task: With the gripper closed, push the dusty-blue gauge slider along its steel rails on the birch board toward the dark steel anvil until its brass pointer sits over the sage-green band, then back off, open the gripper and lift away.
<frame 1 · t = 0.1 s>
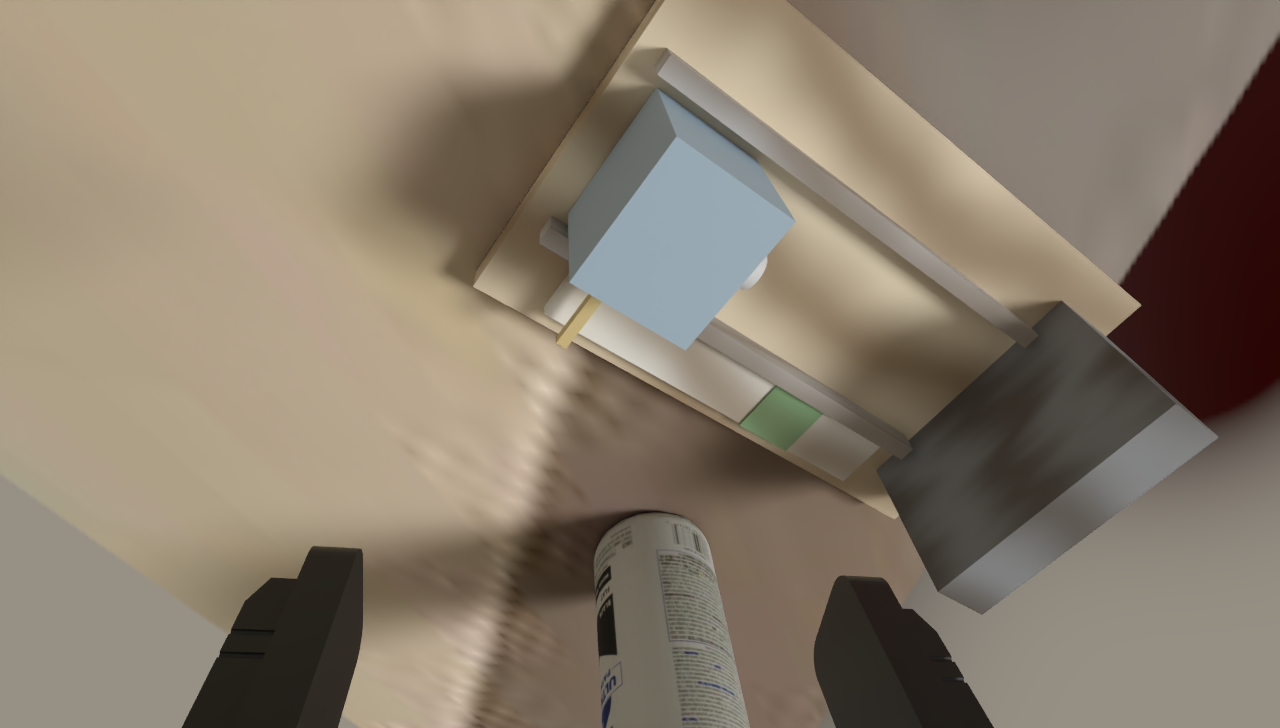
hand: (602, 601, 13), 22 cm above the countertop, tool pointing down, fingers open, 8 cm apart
gauge slider: (651, 272, 30), point 5 cm above the countertop, slide at 0.0 cm
spray can: (652, 547, 45), on the countertop
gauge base: (814, 280, 36), on the countertop
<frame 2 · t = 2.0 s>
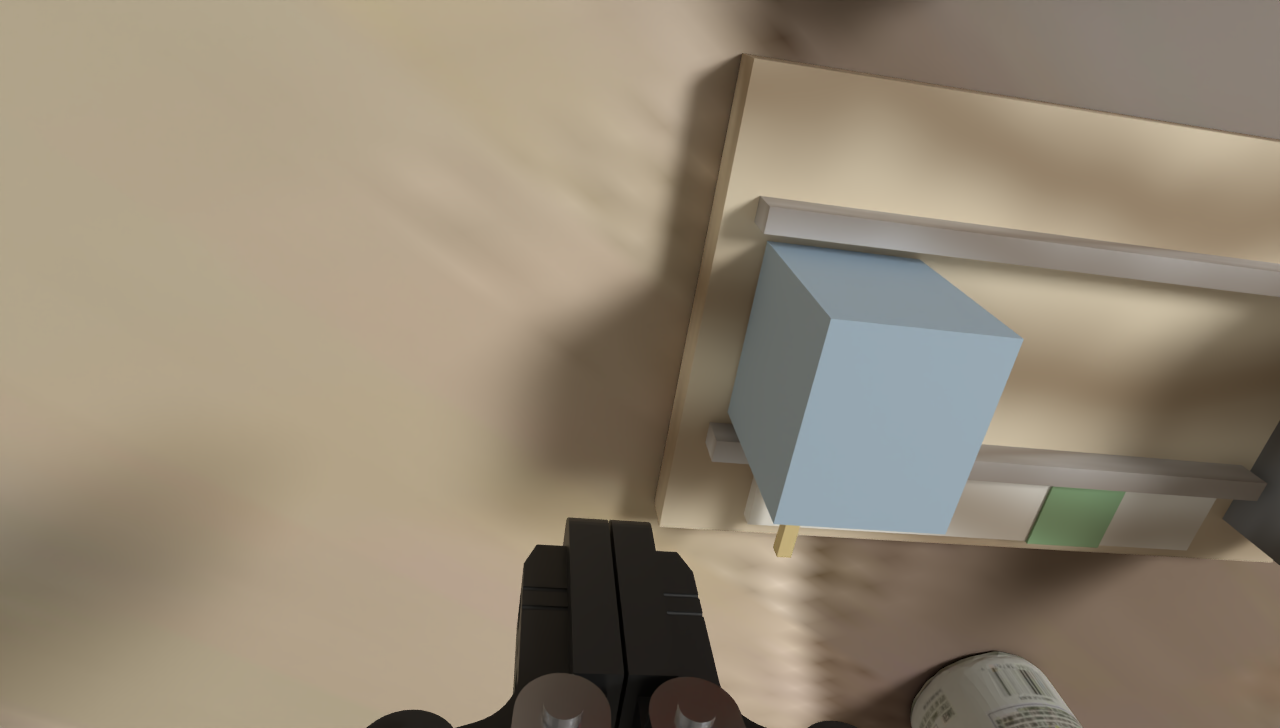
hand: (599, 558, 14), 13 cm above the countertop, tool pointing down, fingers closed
gauge slider: (856, 447, 24), point 5 cm above the countertop, slide at 0.0 cm
spray can: (973, 694, 37), on the countertop
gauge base: (1041, 343, 28), on the countertop
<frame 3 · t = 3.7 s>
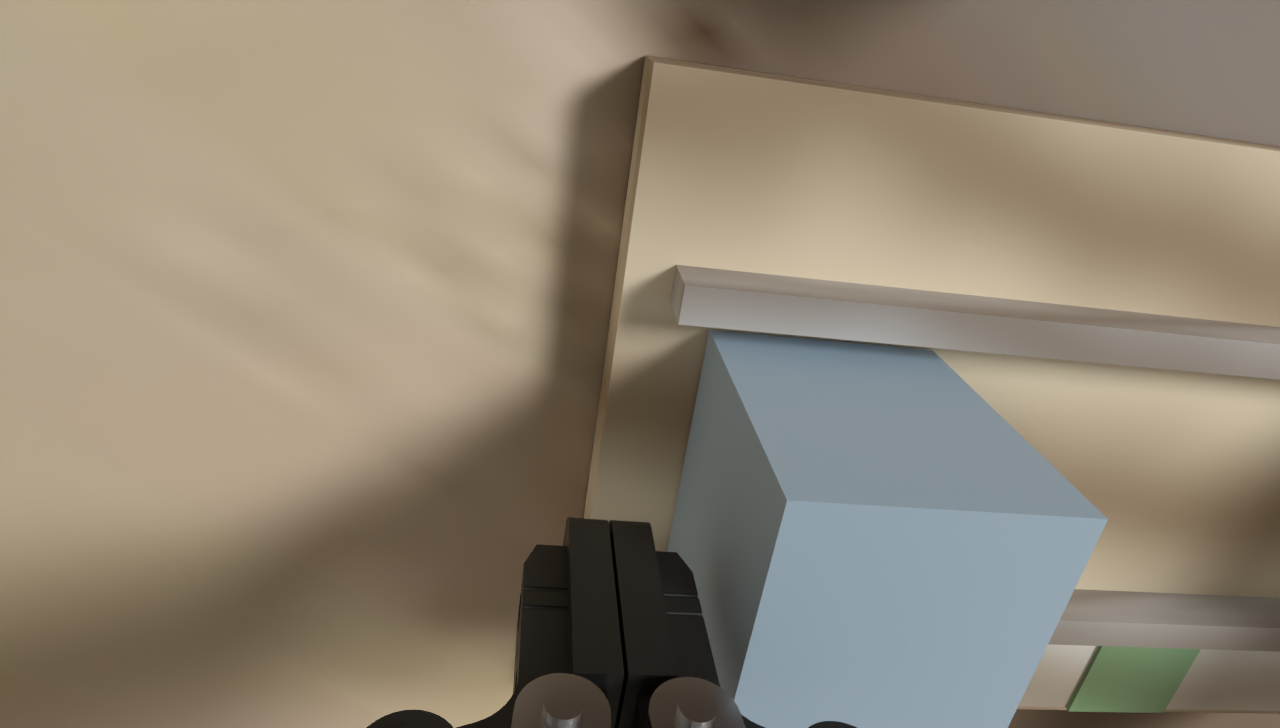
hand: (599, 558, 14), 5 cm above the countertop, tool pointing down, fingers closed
gauge slider: (843, 629, 16), point 5 cm above the countertop, slide at 0.4 cm, touching gripper
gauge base: (1086, 446, 21), on the countertop
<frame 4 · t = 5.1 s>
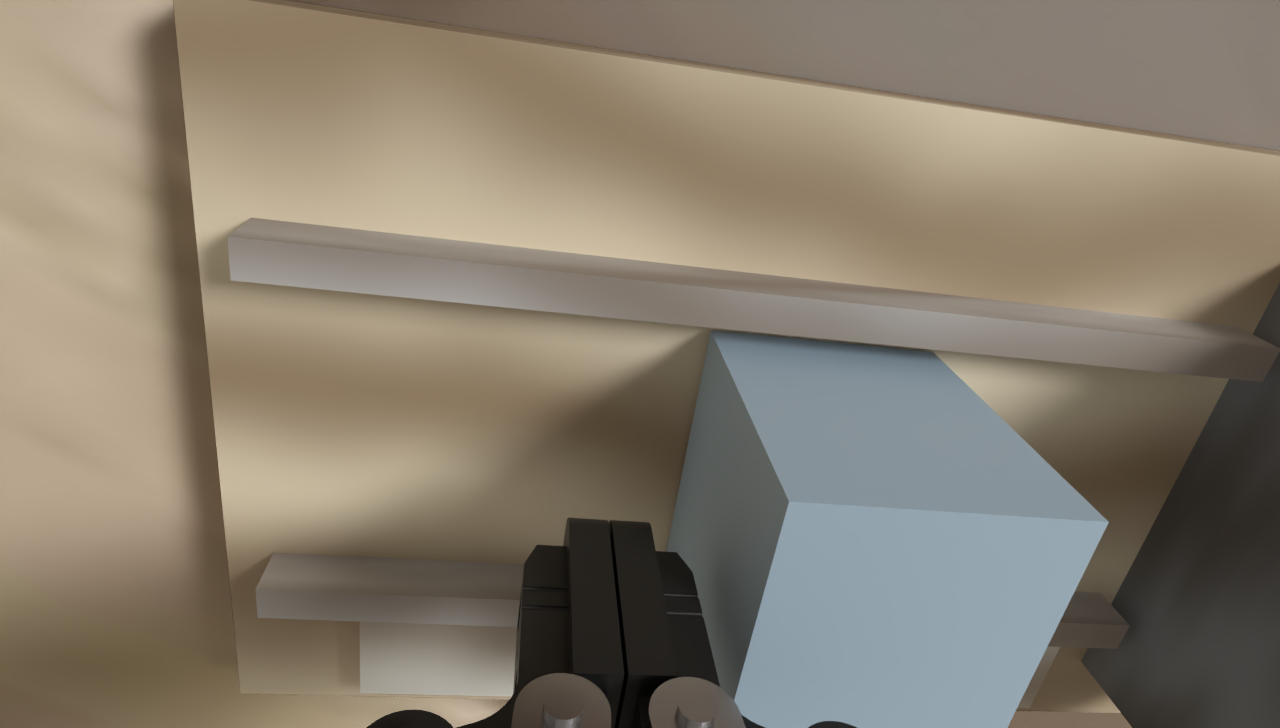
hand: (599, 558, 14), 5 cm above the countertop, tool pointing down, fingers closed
gauge slider: (842, 630, 16), point 5 cm above the countertop, slide at 8.5 cm, touching gripper
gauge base: (794, 426, 19), on the countertop
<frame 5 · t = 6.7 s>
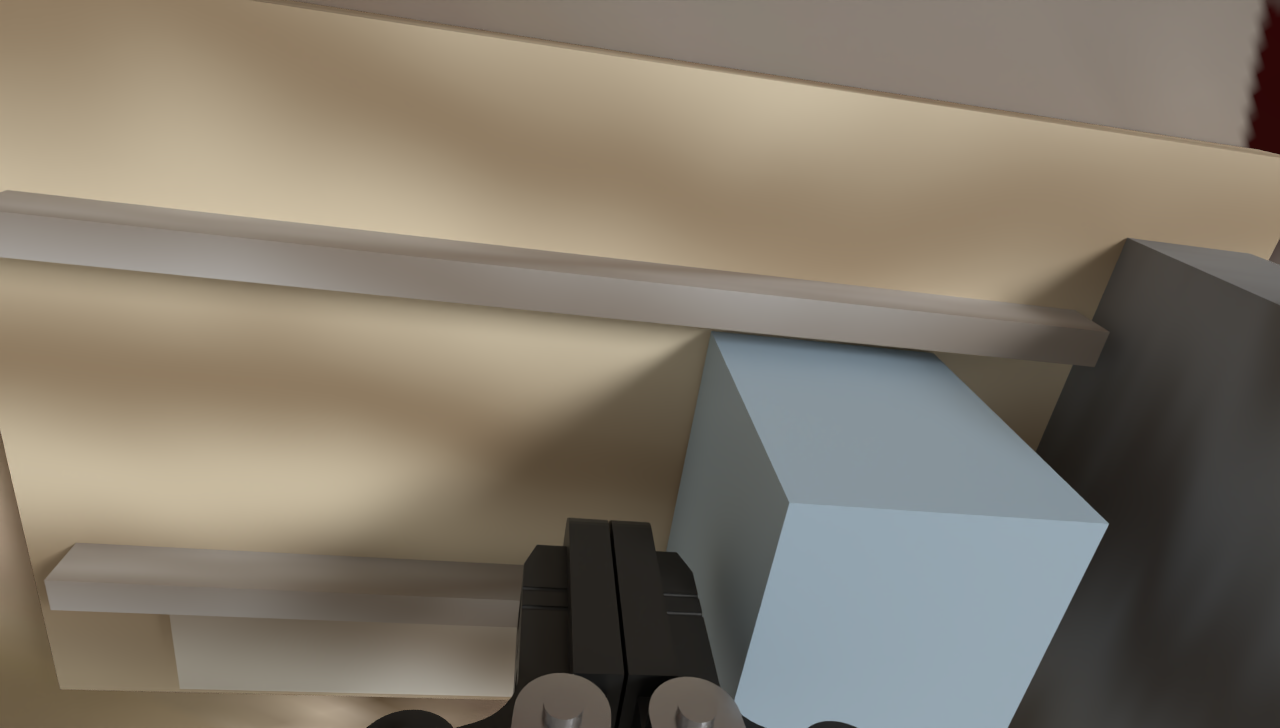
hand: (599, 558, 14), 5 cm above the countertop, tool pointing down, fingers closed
gauge slider: (842, 631, 16), point 5 cm above the countertop, slide at 12.6 cm, touching gripper
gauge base: (633, 413, 19), on the countertop
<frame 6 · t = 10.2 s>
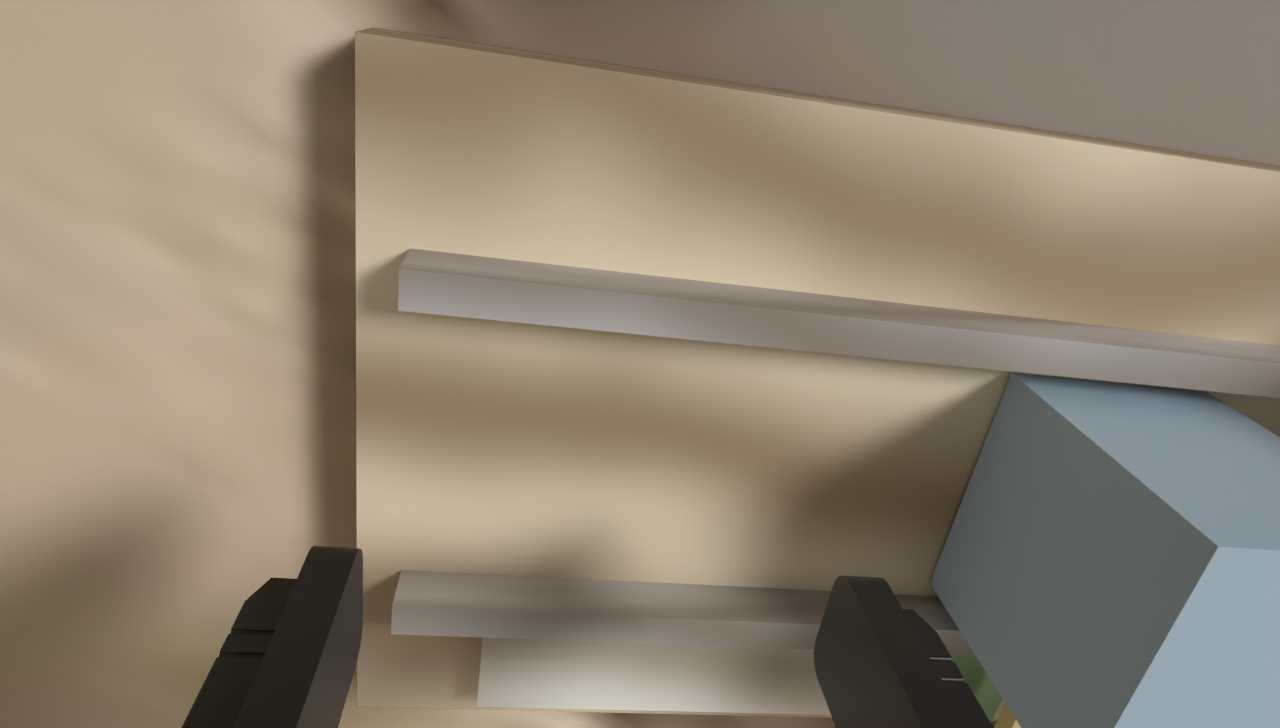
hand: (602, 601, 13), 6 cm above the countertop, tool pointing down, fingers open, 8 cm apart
gauge slider: (1134, 654, 17), point 5 cm above the countertop, slide at 12.6 cm
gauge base: (899, 446, 20), on the countertop
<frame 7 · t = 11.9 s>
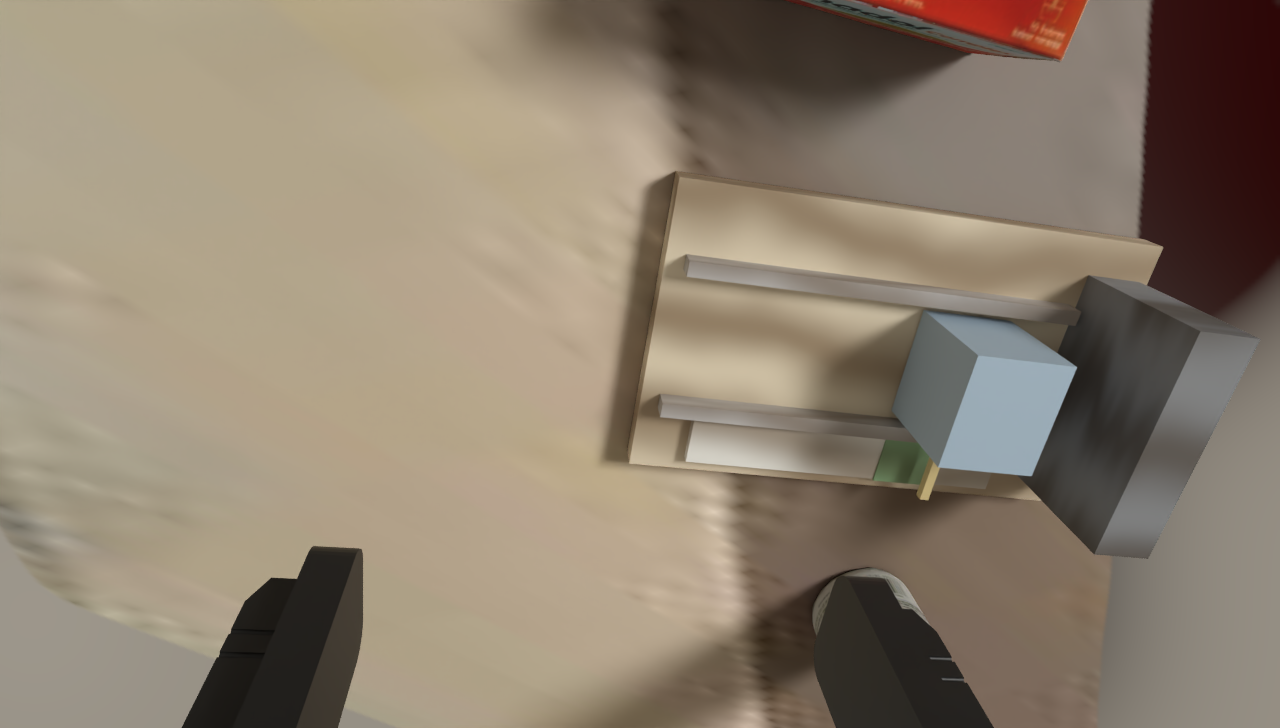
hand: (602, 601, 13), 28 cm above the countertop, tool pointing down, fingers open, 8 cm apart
gauge slider: (975, 429, 41), point 5 cm above the countertop, slide at 12.6 cm
spray can: (858, 602, 51), on the countertop
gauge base: (877, 347, 44), on the countertop
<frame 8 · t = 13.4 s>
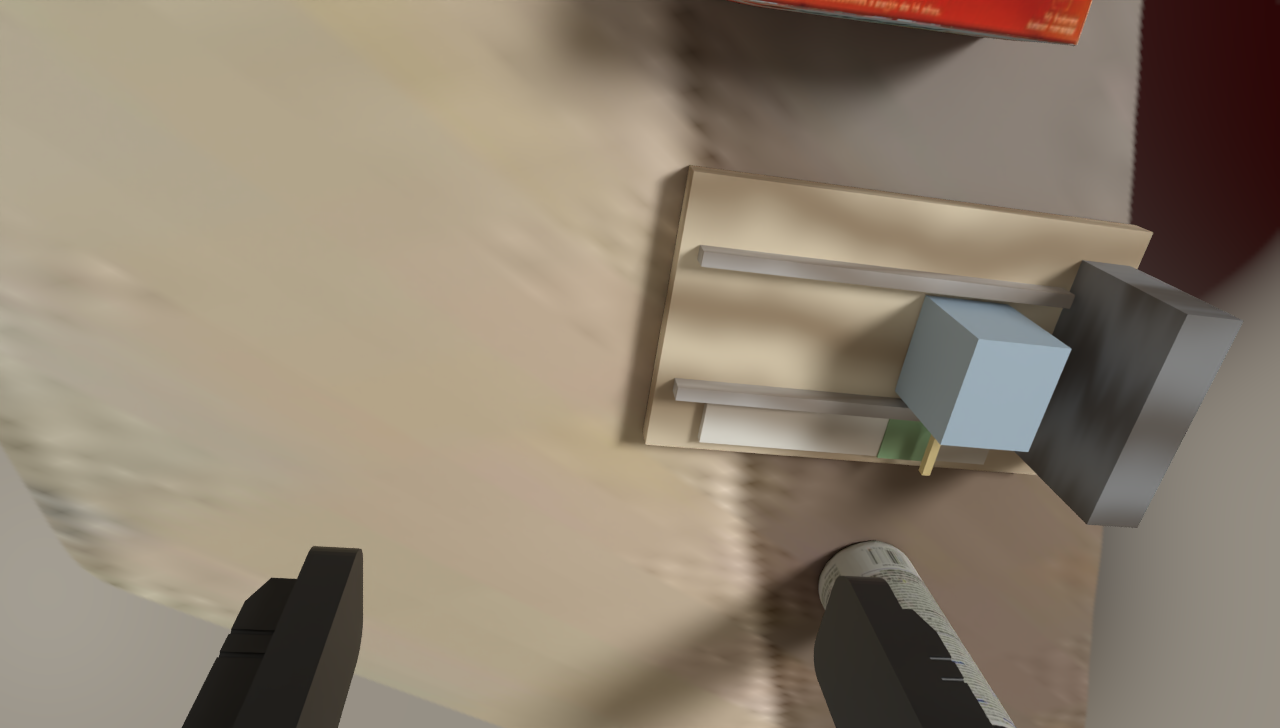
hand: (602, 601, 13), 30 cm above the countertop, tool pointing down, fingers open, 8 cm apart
gauge slider: (975, 408, 43), point 5 cm above the countertop, slide at 12.6 cm
spray can: (862, 573, 54), on the countertop
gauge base: (881, 331, 46), on the countertop
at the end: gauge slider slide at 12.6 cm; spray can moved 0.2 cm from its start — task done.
